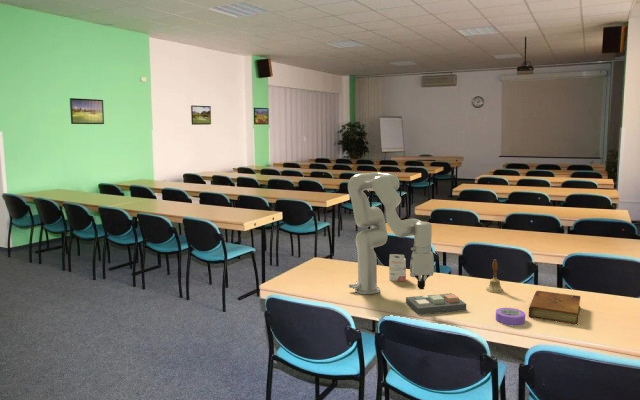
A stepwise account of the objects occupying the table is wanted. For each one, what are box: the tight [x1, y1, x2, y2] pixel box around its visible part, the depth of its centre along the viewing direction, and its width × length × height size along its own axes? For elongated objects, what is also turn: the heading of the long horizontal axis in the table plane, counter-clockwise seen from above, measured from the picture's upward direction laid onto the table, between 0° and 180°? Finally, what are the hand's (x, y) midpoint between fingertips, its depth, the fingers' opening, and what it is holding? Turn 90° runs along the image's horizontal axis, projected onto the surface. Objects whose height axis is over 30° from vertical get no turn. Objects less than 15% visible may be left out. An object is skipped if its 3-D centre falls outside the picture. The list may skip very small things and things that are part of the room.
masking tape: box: [495, 307, 526, 327], centre depth 211 cm, size 12×12×4 cm
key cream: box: [415, 299, 430, 306], centre depth 226 cm, size 5×5×2 cm
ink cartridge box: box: [388, 253, 407, 282], centre depth 269 cm, size 9×5×15 cm, turn 73°
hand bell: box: [485, 258, 504, 294], centre depth 248 cm, size 8×8×16 cm
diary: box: [528, 290, 581, 325], centre depth 219 cm, size 23×19×6 cm
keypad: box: [405, 292, 467, 316], centre depth 228 cm, size 23×15×4 cm, turn 100°
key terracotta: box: [444, 293, 460, 303], centre depth 228 cm, size 5×5×2 cm
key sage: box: [429, 294, 444, 304], centre depth 227 cm, size 5×5×2 cm
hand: (421, 288), depth 225 cm, fingers closed
